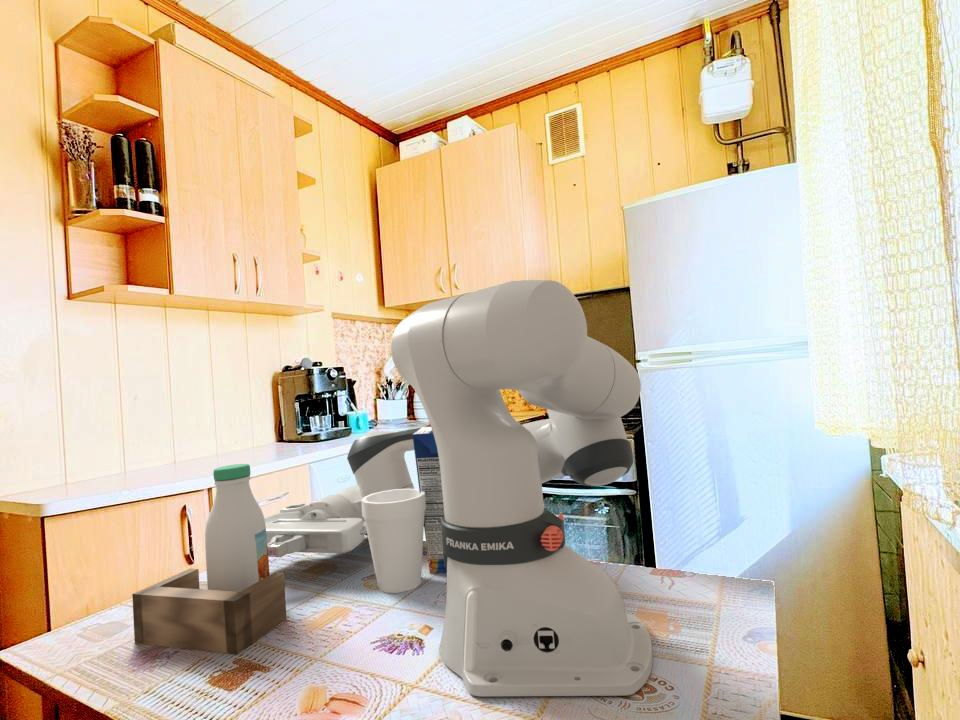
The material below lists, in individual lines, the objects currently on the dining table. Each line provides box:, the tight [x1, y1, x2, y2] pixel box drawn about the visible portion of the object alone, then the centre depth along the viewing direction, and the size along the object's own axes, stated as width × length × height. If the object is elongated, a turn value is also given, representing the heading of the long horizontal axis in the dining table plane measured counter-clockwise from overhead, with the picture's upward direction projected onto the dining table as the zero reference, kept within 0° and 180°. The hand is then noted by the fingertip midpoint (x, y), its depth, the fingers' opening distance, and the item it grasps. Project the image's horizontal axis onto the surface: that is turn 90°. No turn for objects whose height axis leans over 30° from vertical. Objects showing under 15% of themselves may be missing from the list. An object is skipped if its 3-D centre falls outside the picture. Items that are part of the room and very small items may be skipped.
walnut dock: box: [131, 568, 288, 655], centre depth 64 cm, size 16×8×6 cm, turn 72°
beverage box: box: [413, 421, 447, 574], centre depth 81 cm, size 7×11×22 cm, turn 167°
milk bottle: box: [204, 463, 271, 592], centre depth 69 cm, size 8×8×20 cm
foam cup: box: [361, 488, 426, 594], centre depth 74 cm, size 10×9×13 cm
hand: (270, 552), depth 75 cm, fingers closed
